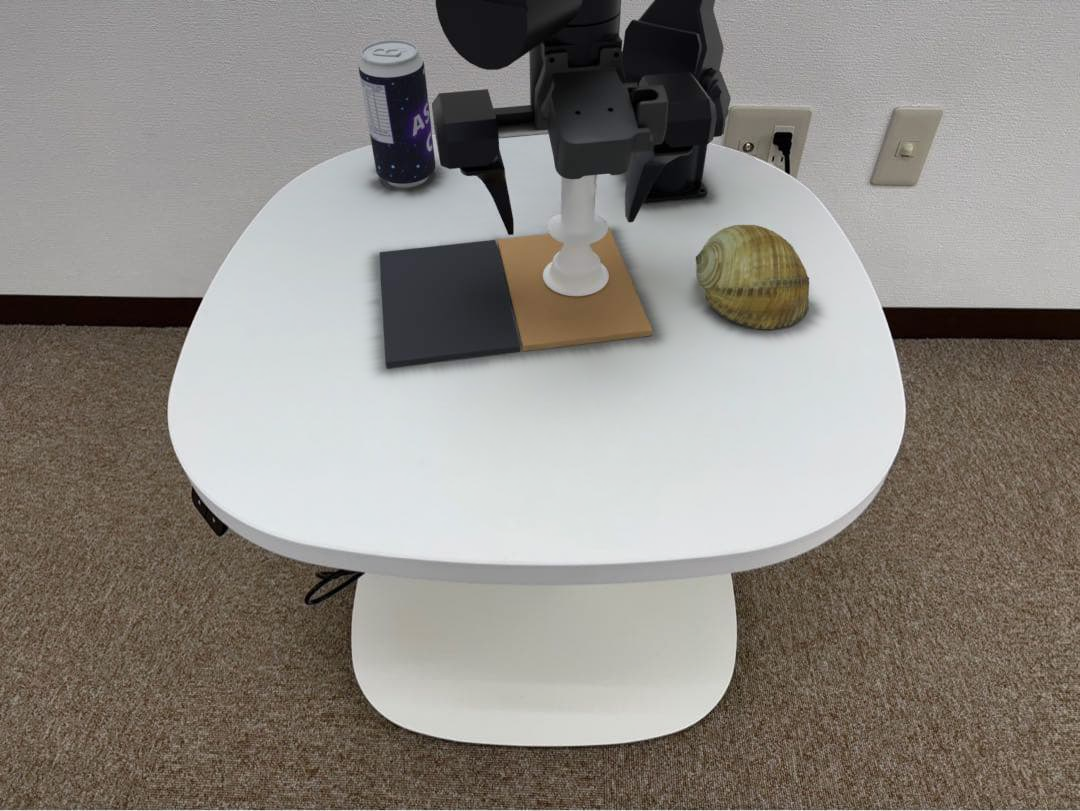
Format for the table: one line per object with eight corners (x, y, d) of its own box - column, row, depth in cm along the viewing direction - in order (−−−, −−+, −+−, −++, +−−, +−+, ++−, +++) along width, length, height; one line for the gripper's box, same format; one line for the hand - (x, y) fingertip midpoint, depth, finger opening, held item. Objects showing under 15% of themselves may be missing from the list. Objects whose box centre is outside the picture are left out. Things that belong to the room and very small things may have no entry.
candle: (583, 250, 67) (588, 114, 59) (622, 282, 64) (633, 143, 56) (530, 271, 65) (527, 134, 57) (567, 306, 62) (570, 165, 54)
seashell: (784, 332, 67) (792, 235, 66) (831, 333, 60) (841, 225, 59) (675, 325, 65) (682, 225, 64) (711, 325, 58) (719, 213, 57)
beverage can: (426, 194, 75) (410, 66, 66) (369, 188, 76) (346, 61, 67) (443, 164, 79) (430, 40, 70) (389, 159, 80) (369, 35, 71)
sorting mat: (609, 233, 70) (609, 227, 70) (651, 335, 61) (652, 329, 60) (380, 257, 68) (379, 251, 68) (386, 368, 58) (385, 362, 58)
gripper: (433, 76, 43) (458, 305, 54) (765, 49, 45) (722, 275, 56) (420, 2, 50) (443, 216, 62) (704, -19, 53) (677, 192, 64)
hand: (570, 225), depth 61 cm, fingers open, 9 cm apart
